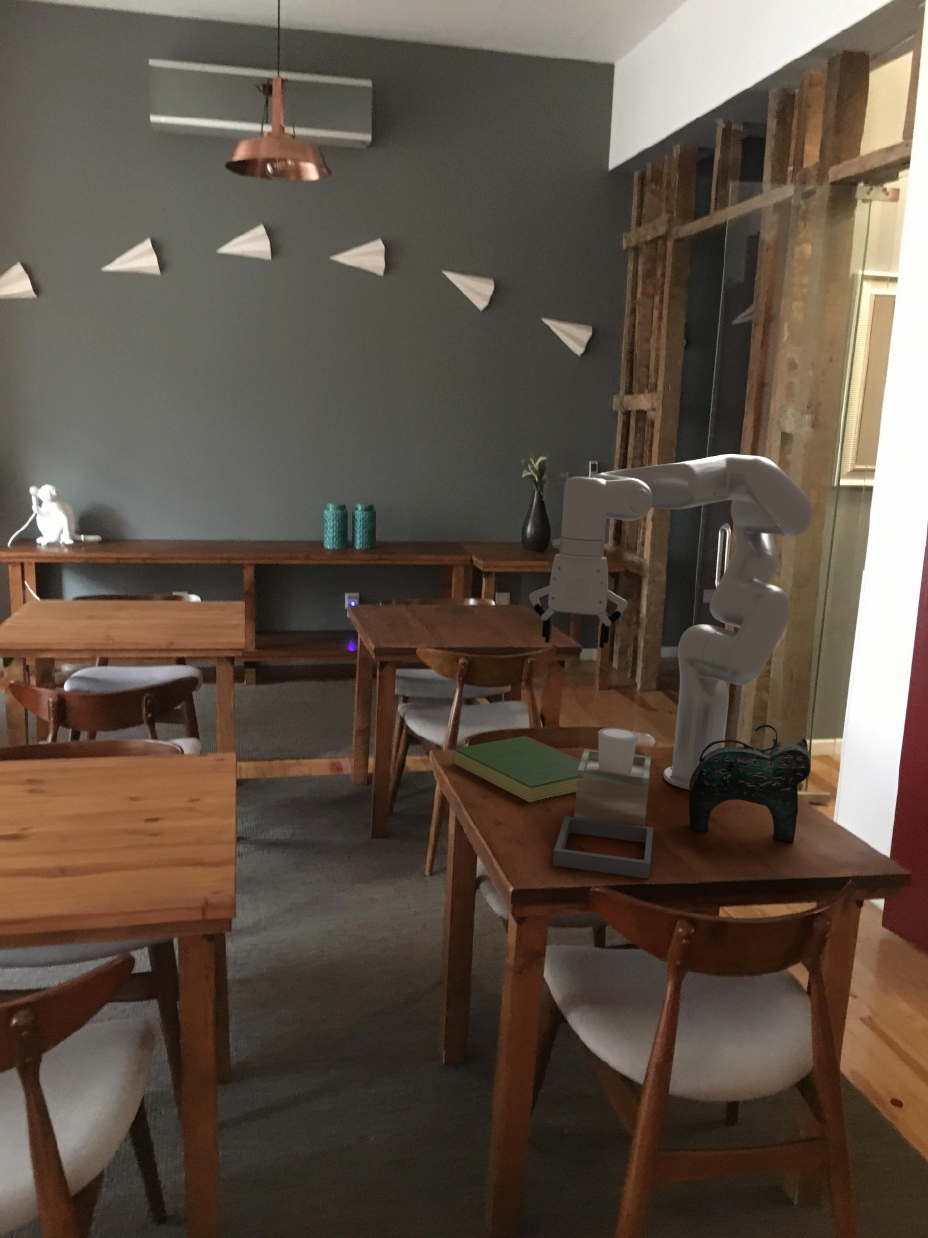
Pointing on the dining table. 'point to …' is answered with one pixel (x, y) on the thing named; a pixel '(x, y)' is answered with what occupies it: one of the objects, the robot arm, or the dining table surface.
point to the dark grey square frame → (598, 860)
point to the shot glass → (616, 750)
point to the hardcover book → (522, 767)
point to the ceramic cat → (751, 781)
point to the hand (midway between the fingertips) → (574, 643)
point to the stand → (612, 791)
